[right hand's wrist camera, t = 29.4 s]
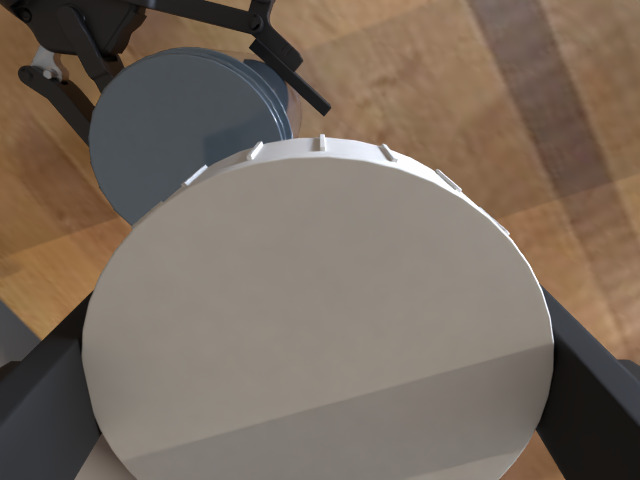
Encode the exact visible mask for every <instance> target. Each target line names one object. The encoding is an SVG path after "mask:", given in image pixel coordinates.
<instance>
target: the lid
mask: <svg viewBox="0 0 640 480" xmlns="http://www.w3.org/2000/svg"><path fill="white" fill-rule="evenodd" d="M181 186H182V187H180V188H179V189H178V190H177V191H176V192H175V193H173V194H172V195H171V196H170V197H169V198H168V199H166V200H165V201H164V202H162V201H161V202H159V203H158V204H157V205H156V206H155V207H153V208H152V209H151V210H150V211H149V212H148V213H146V214H145V215H144V216H143V217H142V218H140V219H139V220H138V221H137V222H136V223H135V224H133V226H132V227H131V228H132V229H133V230H132V231H131V232H130V233H129V235H128V236H127V237H126V238H125V239H124V240H123V242H122V243H121V244H120V245H119V246H118V248H117V249H116V250H115V251H114V253H113V255H112V256H111V258H110V260H109V261H108V263H107V264H106V266H105V268H104V269H103V271H102V273H101V274H100V276H99V279H98V281H97V283H96V286H95V288H94V291H93V293H92V296H91V298H90V301H89V304H88V308H87V313H86V317H85V322H84V326H83V335H82V352H81V357H82V363H83V368H84V372H85V377H86V381H87V386H88V390H89V395H90V399H91V404H92V408H93V412H94V416H95V419H96V421H97V424H98V426H99V428H100V430H101V432H102V434H103V435H104V437H105V439H106V440H107V442H108V444H109V445H110V447H111V449H112V450H113V452H114V453H115V454H116V456H117V457H118V458H119V459H120V461H121V462H122V463H123V464H124V466H125V467H126V468H127V469H128V471H129V472H130V473H131V474H132V475H133V476H134V477H135V478H136V479H138V480H499V479H500V478H501V476H502V475H503V474H504V473H505V472H506V471H507V470H508V469H509V468H510V467H511V465H512V464H513V463H514V462H515V461H516V459H517V458H518V456H519V455H520V454H521V452H522V451H523V449H524V448H525V446H526V445H527V444H528V442H529V440H530V438H531V437H532V435H533V433H534V431H535V429H536V427H537V425H538V423H539V421H540V419H541V416H542V413H543V410H544V407H545V405H546V402H547V399H548V396H549V391H550V385H551V380H552V375H553V363H554V340H553V333H552V326H551V318H550V314H549V311H548V308H547V304H546V301H545V298H544V295H543V291H542V289H541V287H540V285H539V283H538V281H537V279H536V277H535V275H534V273H533V271H532V269H531V267H530V265H529V263H528V262H527V260H526V259H525V258H524V256H523V255H522V253H521V252H520V251H519V249H518V248H517V246H516V245H515V244H514V242H513V241H512V239H511V238H510V237H509V236H508V235H509V232H508V231H507V230H506V229H505V228H504V227H502V226H501V225H500V224H499V223H498V222H497V221H495V220H494V219H493V218H492V217H491V216H490V215H489V214H487V213H486V212H485V211H484V210H483V209H482V208H481V207H478V206H477V205H475V204H474V203H473V202H472V201H471V200H470V199H469V198H467V197H466V196H465V195H464V194H463V193H462V192H461V190H462V189H461V188H459V187H458V186H457V185H456V184H455V183H454V182H453V181H451V180H450V179H449V178H448V177H447V176H446V175H444V174H443V173H442V172H441V171H440V170H438V169H436V171H433V170H432V169H430V168H428V167H426V166H424V165H423V164H421V163H419V162H417V161H415V160H414V159H412V158H410V157H407V156H405V155H402V154H400V153H397V152H394V151H392V150H390V149H389V148H388V147H387V145H385V144H382V145H381V147H380V146H376V145H372V144H368V143H364V142H360V141H355V140H346V139H336V138H326V137H325V135H324V134H320V138H296V139H289V140H283V141H277V142H271V143H266V144H263V143H262V141H261V142H258V143H257V144H256V145H255V146H254V147H253V148H250V149H247V150H243V151H240V152H238V153H236V154H233V155H231V156H229V157H227V158H225V159H223V160H221V161H218V162H216V163H214V164H212V165H211V166H209V167H207V166H206V165H204V166H202V167H201V168H200V169H199V170H198V171H196V172H195V173H194V174H193V175H192V176H191V177H189V178H188V179H187V180H186V181H185V182H183V183H182V184H181Z"/></svg>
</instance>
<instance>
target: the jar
mask: <svg viewBox="0 0 640 480" xmlns="http://www.w3.org/2000/svg"><path fill="white" fill-rule="evenodd" d="M301 115H302V111H301V103H300V99H299V95H298V93H297V91H296V90H294V89H293V88H292V87H291V86H290V85H289V84H288V83H287V82H286V81H285V80H284V79H282V78H281V77H280V76H279V75H278V74H277V73H276V72H275V71H274V70H273V69H271V68H270V67H269V66H268V65H267V64H266V63H265V62H264V61H263V60H262V59H261V58H259V57H258V56H257V55H255V54H250V53H243V52H234V51H225V50H216V49H208V48H199V47H181V48H173V49H168V50H165V51H161V52H158V53H156V54H153V55H150V56H146V57H144V58H142V59H140V60H139V61H137V62H135V63H133V64H131V65H129V66H128V67H126V68H123V69H122V70H121V71H120V72H119V73H118V74H117V75H116V77H115V78H114V79H113V80H112V81H111V82H110V83H109V84H108V85H107V86H106V87H105V88H104V90H103V92H102V94H101V96H100V98H99V100H98V102H97V104H96V106H95V108H94V110H93V112H92V118H91V124H90V131H89V136H88V141H89V151H90V159H91V162H90V163H91V166H92V168H93V171H94V173H95V176H96V179H97V181H98V184H99V188H100V189H101V191H102V192H103V194H104V195H105V197H106V198H107V200H108V201H109V202H110V204H111V205H112V207H113V208H114V210H115V211H116V212H117V213H118V214H119V215H120V216H121V217H122V218H123V219H125V220H126V221H127V222H128V223H129V224H130V225H131V226H133V224H135V223H136V222H137V221H138V220H139V219H140V218H142V217H143V216H144V215H145V214H146V213H148V212H149V211H150V210H151V209H152V208H153V207H155V206H156V205H157V204H158V203H159V202H161V201H162V202H164V201H165V200H166V199H168V198H169V197H170V196H171V195H172V194H173V193H175V192H176V191H177V190H178V189H179V188H180V187H182V186H181V184H182V183H183V182H185V181H186V180H187V179H188V178H189V177H191V176H192V175H193V174H194V173H195V172H196V171H198V170H199V169H200V168H201V167H202V166H204V165H206V166H207V167H209V166H211V165H212V164H214V163H216V162H218V161H221V160H223V159H225V158H227V157H229V156H231V155H233V154H236V153H238V152H240V151H243V150H247V149H250V148H253V147H254V146H255V145H256V144H257V143H258V142H261V141H262V143H263V144H266V143H271V142H277V141H283V140H289V139H296V138H298V137H299V131H300V126H301Z"/></svg>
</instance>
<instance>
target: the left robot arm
mask: <svg viewBox="0 0 640 480" xmlns="http://www.w3.org/2000/svg"><path fill="white" fill-rule="evenodd" d="M274 2H275V0H252V1H251V4H250V8H249V11H244V10H240V9H236V8H232V7H229V6H225V5H221V4H217V3H213V2H209V1H205V0H0V4H1V5H2V6H3V7H5V8H6V9H7V10H8V11H10V12H11V13H12V14H13V15H15V16H16V17H17V18H19V19H20V20H21V21H23V22H24V23H25V24H26V25H28V27H29V28H30V29H31V30H32V32H33V33H34V35H35V37H36V39H37V41H38V42H39V44H40V46H39V48H38V50H37V52H36V54H35V56H34V59H33V61H32V63H31V65H30V66H22V67H21V68H20V69H19V71H18V76H19V78H20V80H21V81H22V82H23V83H24V84H26V85H27V86H29V87H30V88H32V89H33V90H35V91H36V92H38V93H39V94H41V95H43V96H44V97H46V98H47V99H48V100H49V101H50V102H51V103H52V104H53V106H54V107H55V108H56V109H57V110H58V112H59V113H60V114H61V115H62V116H63V117H64V119H65V120H66V121H67V122H68V123H69V124H70V126H71V127H72V128H73V129H74V130H75V131H76V133H77V134H78V135H79V136H80V137H81V138H82V140H83V141H84V142H85V143H86V144H87V145H88V147H89V141H88V136H89V131H90V124H91V118H92V112H93V110H94V108H95V106H94V105H93V104H92V103H91V102H90V100H89V99H88V98H87V97H86V96H85V94H84V93H83V92H82V91H81V90H80V89H79V88H78V87H77V86H76V85H75V84H74V83H73V82H72V81H70V80H69V79H68V78H69V72H68V70H67V69H66V68H65V67H64V66H63V65H62V63H61V60H60V56H61V54H69V55H78V57H79V59H80V61H81V63H82V65H83V67H84V69H85V71H86V72H87V74H88V76H89V77H90V78H91V79H92V80H94V82H95V83H96V85H97V87H98V89H99V91H100V92H101V94H102V92H103V90H104V88H105V87H106V86H107V85H108V84H109V83H110V82H111V81H112V80H113V79H114V78H115V77H116V75H117V74H118V73H119V72H120V71H121V70H122V69H123V68H124V65H123V63H122V61H121V59H120V57H119V55H118V53H121V54H122V53H123V51H124V50H125V48H126V47H127V45H128V43H129V39H130V36H131V33H132V32H133V31H135V30H136V29H137V28H138V27H140V26H141V24H142V23H143V21H144V20H145V18H146V17H147V16H146V15H145V10H146V8H148V9H152V10H156V11H160V12H164V13H169V14H173V15H177V16H181V17H185V18H189V19H193V20H197V21H200V22H204V23H208V24H212V25H216V26H220V27H224V28H228V29H232V30H236V31H240V32H244V33H248V34H252V35H253V36H254V37H255V38H256V39H255V40H254V42H253V43H252V44H251V46H250V47H249V48H250V49H251V50H252V51H253V52H254V53H255V54H256V55H257V56H258V57H259V58H261V59H262V60H263V61H264V62H265V63H266V64H267V65H268V66H269V67H270V68H271V69H273V70H274V71H275V72H276V73H277V74H278V75H279V76H280V77H281V78H282V79H284V80H285V81H286V82H287V83H288V84H289V85H290V86H291V87H292V88H293V89H294V90H296V91H297V92H298V93H299V94H300V95H301V96H302V97H303V98H304V99H305V100H307V101H308V102H309V103H310V104H311V105H312V106H313V107H314V108H315V109H316V110H317V111H319V112H320V113H321V114H322V115H323V116H325V115H326V114H327V112H328V111H329V110H330V109H331V106H330V104H329V103H328V102H327V101H326V100H325V99H324V98H323V97H321V96H320V95H319V94H318V93H317V92H316V91H315V90H314V89H313V88H312V87H311V86H310V85H309V84H307V83H306V82H305V81H304V80H303V79H302V78H301V77H300V76H299V75H298V74H297V73H296V72H295V71H296V70H297V68H298V67H299V66H300V65H301V63H302V62H303V59H302V57H301V55H300V53H299V52H298V51H297V50H296V49H294V48H293V47H292V46H291V45H290V44H289V43H288V42H287V41H286V40H285V39H284V38H283V37H282V36H281V35H280V34H279V33H278V32H276V31H275V30H274V29H273V27H272V26H271V24H270V13H271V10H272V7H273V4H274Z"/></svg>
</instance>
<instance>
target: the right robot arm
mask: <svg viewBox="0 0 640 480" xmlns="http://www.w3.org/2000/svg"><path fill="white" fill-rule="evenodd" d="M539 285H540V284H539ZM540 287H541V289H542V291H543V295H544V298H545V301H546V304H547V308H548V311H549V314H550V318H551V326H552V333H553V340H554V363H553V375H552V380H551V385H550V391H549V396H548V399H547V402H546V405H545V407H544V410H543V413H542V416H541V419H540V421H539V423H538V425H537V427H536V431H537V432H538V434H539V436H540V437H541V439H542V441H543V442H544V444H545V446H546V448H547V449H548V451H549V453H550V454H551V456H552V458H553V459H554V461H555V463H556V464H557V466H558V468H559V469H560V471H561V473H562V474H563V476H564V478H565V479H566V480H640V366H639V365H637V364H635V363H634V362H632V361H630V360H617V359H616V358H615V357H614V356H613V355H612V354H611V353H609V352H608V351H607V350H606V349H605V348H604V347H603V346H602V345H601V344H600V343H599V342H598V341H597V340H596V339H595V338H594V337H593V336H592V335H591V334H590V333H589V332H588V331H587V330H586V329H585V328H584V327H583V326H582V325H581V324H580V323H579V322H578V321H577V320H576V319H575V318H574V317H573V316H572V315H571V314H570V313H569V312H568V311H567V310H566V309H565V308H564V307H563V306H562V305H561V304H560V303H559V302H558V301H557V300H556V299H555V298H554V297H553V296H552V295H551V294H550V293H549V292H548V291H546V290H545V289H544V288H543V287H542V286H541V285H540ZM93 291H94V290H93ZM93 291H92V292H91V293H90V294H89V295H88V296H87V297H86V298H85V299H84V300H83V301H82V302H81V303H80V304H79V305H78V306H77V307H76V308H75V309H74V310H73V311H72V312H71V313H70V314H69V315H68V316H67V317H66V318H65V319H64V320H63V321H62V322H61V323H60V324H59V325H58V326H57V327H56V328H55V329H54V330H53V331H52V332H51V333H49V334H48V335H47V336H46V337H45V338H44V339H43V340H42V341H41V342H40V343H39V344H38V345H37V346H36V347H35V348H34V349H33V350H32V351H31V352H30V353H29V354H28V355H27V356H26V357H25V358H24V359H23V360H22V361H11V362H9V363H7V364H6V365H4V366H2V367H1V368H0V480H74V479H75V477H76V476H77V474H78V472H79V471H80V469H81V467H82V465H83V464H84V462H85V460H86V459H87V457H88V455H89V454H90V452H91V450H92V449H93V447H94V445H95V444H96V442H97V440H98V439H99V437H100V435H101V434H102V432H101V430H100V428H99V426H98V424H97V421H96V419H95V416H94V412H93V408H92V404H91V399H90V395H89V390H88V386H87V381H86V377H85V372H84V368H83V363H82V357H81V352H82V335H83V326H84V322H85V317H86V313H87V308H88V304H89V301H90V298H91V296H92V293H93Z"/></svg>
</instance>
